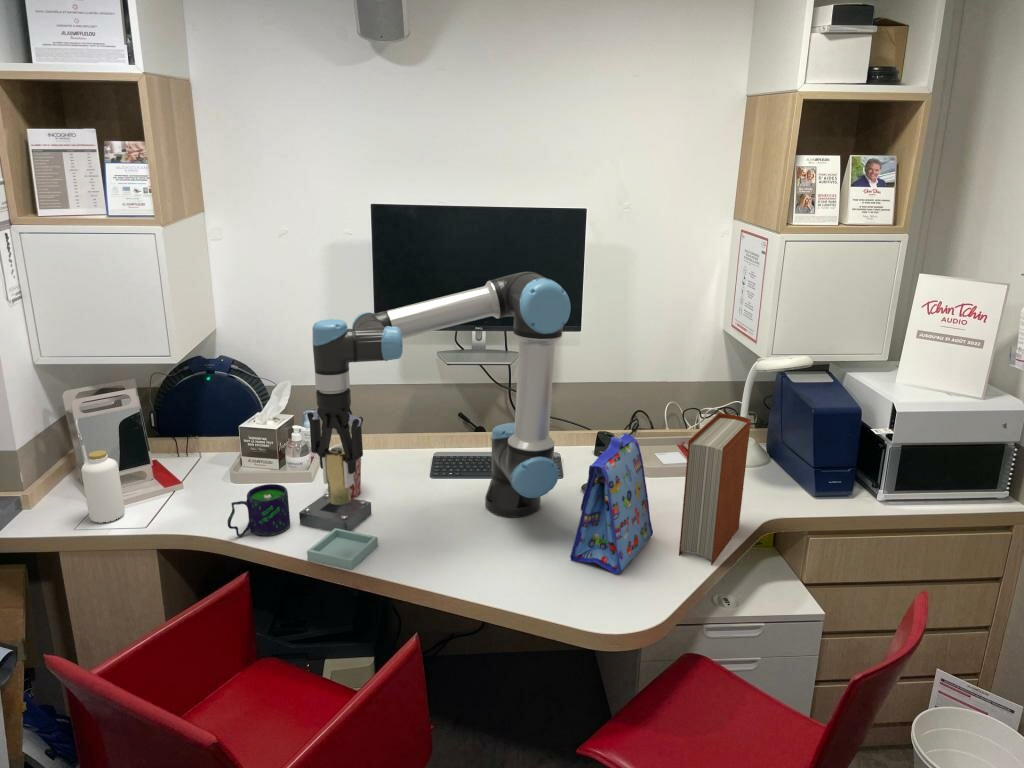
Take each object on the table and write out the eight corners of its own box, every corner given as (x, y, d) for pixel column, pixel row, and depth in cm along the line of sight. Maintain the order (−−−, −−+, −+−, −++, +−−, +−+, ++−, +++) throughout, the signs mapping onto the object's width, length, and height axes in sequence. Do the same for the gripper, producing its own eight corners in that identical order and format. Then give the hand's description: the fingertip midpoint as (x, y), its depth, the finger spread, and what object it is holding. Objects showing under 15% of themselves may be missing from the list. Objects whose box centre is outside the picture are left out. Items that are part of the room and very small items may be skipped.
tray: (377, 545, 189) (377, 536, 189) (351, 569, 179) (351, 560, 178) (335, 536, 193) (335, 528, 192) (307, 559, 182) (306, 550, 182)
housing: (371, 514, 205) (370, 500, 204) (347, 534, 194) (346, 519, 193) (326, 505, 210) (325, 491, 208) (300, 524, 199) (299, 510, 198)
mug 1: (285, 515, 204) (282, 480, 201) (294, 531, 196) (291, 495, 192) (225, 527, 197) (221, 492, 194) (231, 545, 189) (226, 508, 186)
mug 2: (359, 501, 212) (356, 456, 208) (326, 500, 213) (323, 454, 209) (370, 482, 224) (368, 439, 220) (340, 480, 225) (337, 437, 221)
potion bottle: (132, 513, 204) (122, 450, 198) (104, 527, 197) (94, 462, 191) (110, 507, 207) (100, 445, 202) (82, 520, 200) (71, 456, 194)
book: (711, 565, 182) (723, 447, 173) (678, 555, 186) (688, 440, 177) (740, 526, 201) (752, 418, 192) (709, 518, 205) (719, 412, 196)
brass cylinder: (354, 497, 183) (351, 447, 179) (343, 506, 179) (340, 455, 175) (336, 493, 185) (333, 444, 181) (324, 502, 180) (321, 451, 176)
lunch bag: (605, 523, 201) (610, 420, 193) (654, 537, 195) (662, 430, 186) (567, 560, 184) (572, 448, 175) (620, 576, 177) (628, 461, 168)
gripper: (376, 388, 174) (380, 483, 181) (308, 379, 180) (315, 471, 187) (359, 398, 167) (364, 496, 174) (289, 388, 173) (296, 483, 180)
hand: (338, 483), depth 180 cm, fingers closed on brass cylinder, 5 cm apart
